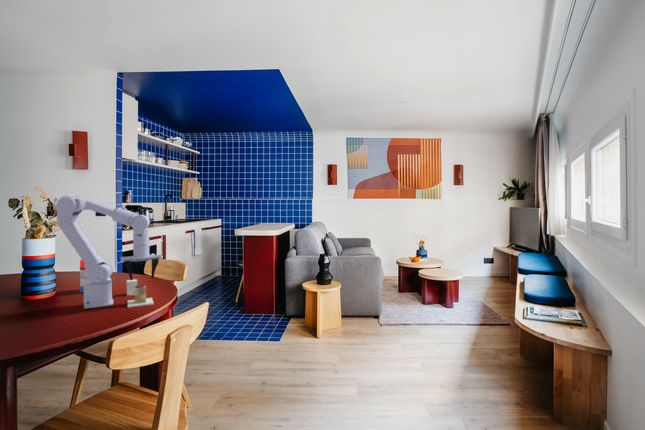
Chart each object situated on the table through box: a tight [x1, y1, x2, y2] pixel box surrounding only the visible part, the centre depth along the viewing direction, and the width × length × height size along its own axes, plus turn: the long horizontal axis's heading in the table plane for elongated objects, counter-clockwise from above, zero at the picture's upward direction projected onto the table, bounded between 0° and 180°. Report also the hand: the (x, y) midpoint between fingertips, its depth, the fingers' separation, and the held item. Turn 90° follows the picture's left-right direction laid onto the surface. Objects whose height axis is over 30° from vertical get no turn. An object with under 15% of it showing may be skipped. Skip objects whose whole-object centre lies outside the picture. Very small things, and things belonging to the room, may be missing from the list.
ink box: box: [79, 259, 90, 294], centre depth 164 cm, size 8×5×15 cm, turn 179°
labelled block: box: [134, 284, 147, 304], centre depth 144 cm, size 4×4×6 cm
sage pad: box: [127, 297, 155, 309], centre depth 144 cm, size 9×9×1 cm
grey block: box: [126, 278, 138, 297], centre depth 158 cm, size 4×4×6 cm
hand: (142, 278), depth 146 cm, fingers open, 7 cm apart
